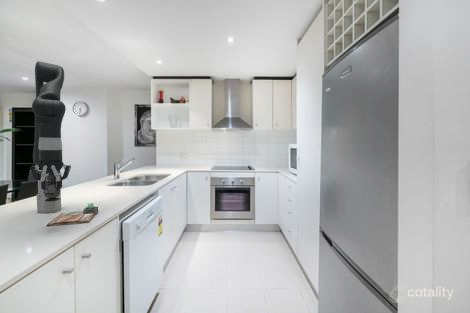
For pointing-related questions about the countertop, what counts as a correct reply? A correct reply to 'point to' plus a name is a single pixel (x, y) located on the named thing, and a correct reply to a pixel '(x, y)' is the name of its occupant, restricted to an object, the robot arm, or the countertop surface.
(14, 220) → the countertop surface
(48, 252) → the countertop surface
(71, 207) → the countertop surface
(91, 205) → the button
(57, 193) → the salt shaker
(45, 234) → the countertop surface
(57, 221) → the picture board
